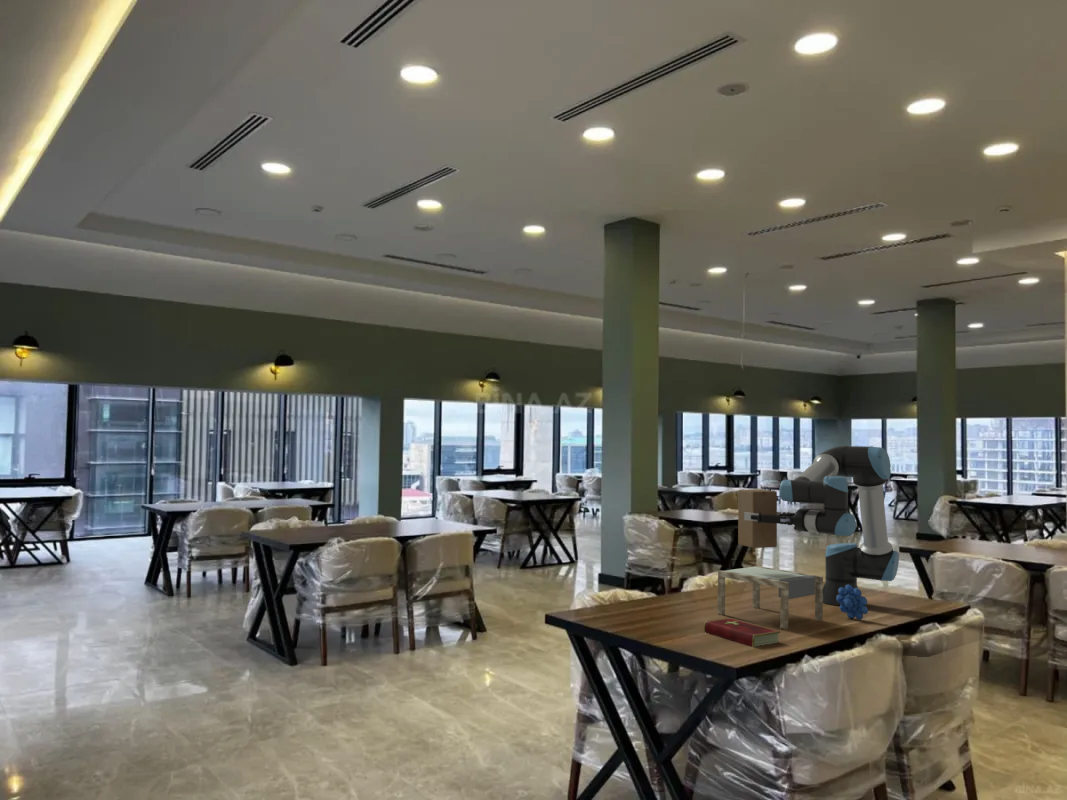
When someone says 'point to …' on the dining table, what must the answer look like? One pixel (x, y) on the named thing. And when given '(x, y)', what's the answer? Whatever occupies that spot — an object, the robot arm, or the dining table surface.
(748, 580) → the hinged flap stand
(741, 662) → the dining table surface
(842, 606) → the grapes
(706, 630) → the hardcover book
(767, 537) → the wooden block
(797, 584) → the trapdoor
